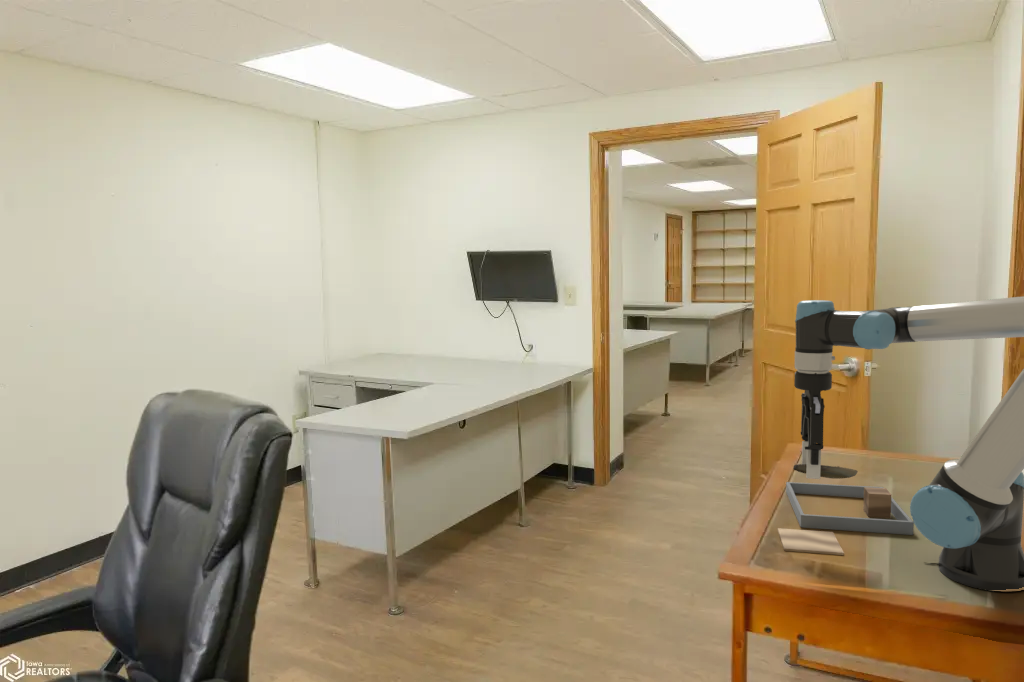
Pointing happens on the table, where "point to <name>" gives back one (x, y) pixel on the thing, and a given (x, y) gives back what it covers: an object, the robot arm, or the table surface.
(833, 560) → the table surface
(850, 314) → the robot arm
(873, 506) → the walnut block
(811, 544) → the cork pad
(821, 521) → the parts tray
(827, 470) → the stone
